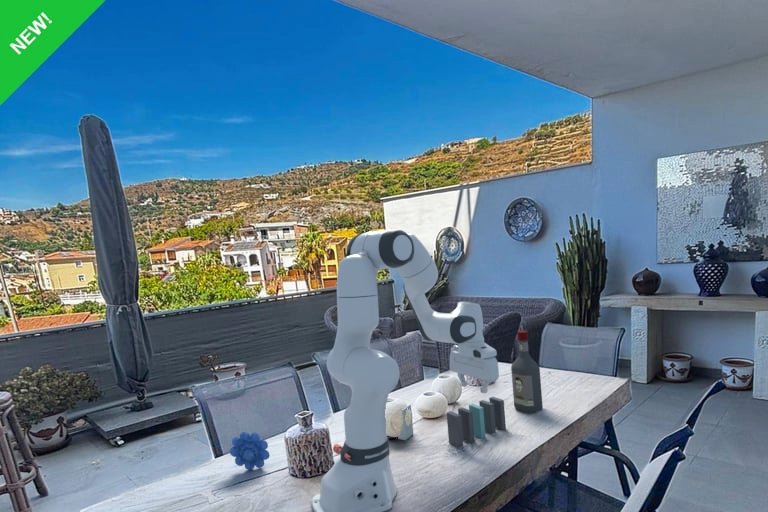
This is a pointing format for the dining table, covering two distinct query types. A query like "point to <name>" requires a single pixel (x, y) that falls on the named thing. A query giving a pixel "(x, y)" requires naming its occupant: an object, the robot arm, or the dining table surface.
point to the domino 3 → (478, 420)
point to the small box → (406, 430)
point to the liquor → (526, 379)
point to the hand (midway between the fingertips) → (473, 389)
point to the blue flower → (249, 450)
